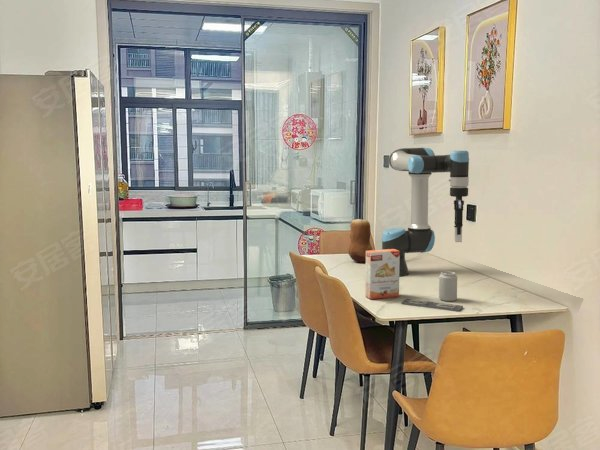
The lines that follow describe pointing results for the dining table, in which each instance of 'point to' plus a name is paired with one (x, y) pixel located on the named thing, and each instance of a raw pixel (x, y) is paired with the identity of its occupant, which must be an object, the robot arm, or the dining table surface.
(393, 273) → the cracker box
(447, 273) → the can
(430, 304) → the panel
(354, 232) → the butternut squash
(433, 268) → the dining table surface
